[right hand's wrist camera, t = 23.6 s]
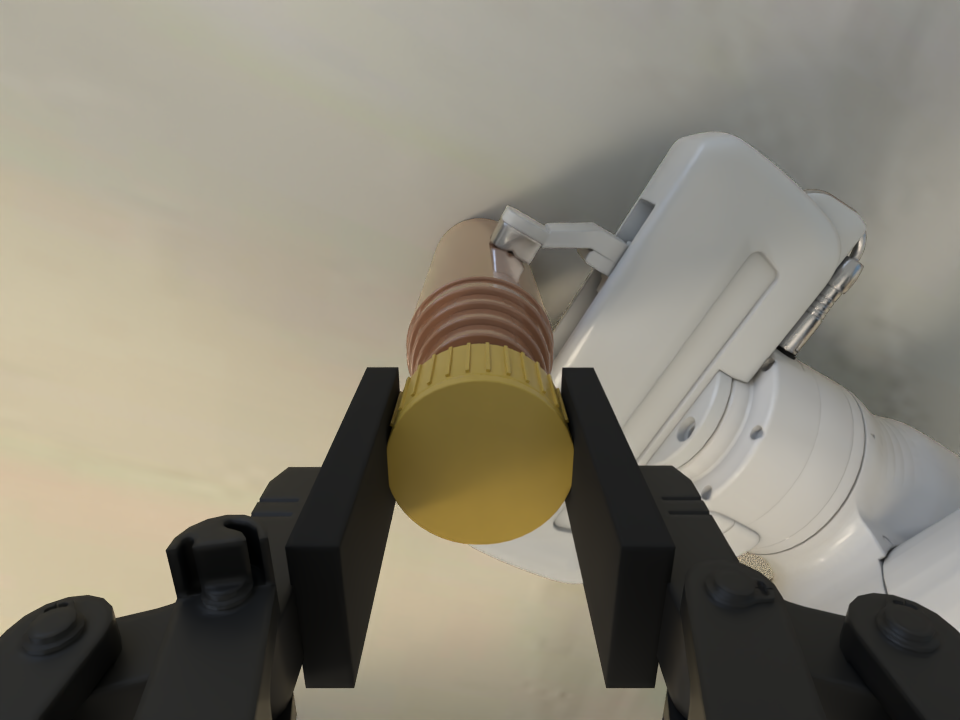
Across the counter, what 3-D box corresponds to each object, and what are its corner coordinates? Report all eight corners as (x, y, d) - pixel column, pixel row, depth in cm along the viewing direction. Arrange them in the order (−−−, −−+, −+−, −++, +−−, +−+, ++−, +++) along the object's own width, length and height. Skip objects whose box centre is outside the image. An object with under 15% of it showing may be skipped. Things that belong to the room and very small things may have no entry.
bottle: (453, 322, 32) (421, 558, 15) (419, 237, 30) (338, 391, 13) (539, 292, 31) (611, 502, 14) (509, 204, 29) (550, 318, 12)
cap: (432, 510, 16) (424, 568, 14) (368, 371, 14) (349, 413, 12) (584, 464, 15) (600, 517, 13) (535, 316, 14) (545, 350, 12)
